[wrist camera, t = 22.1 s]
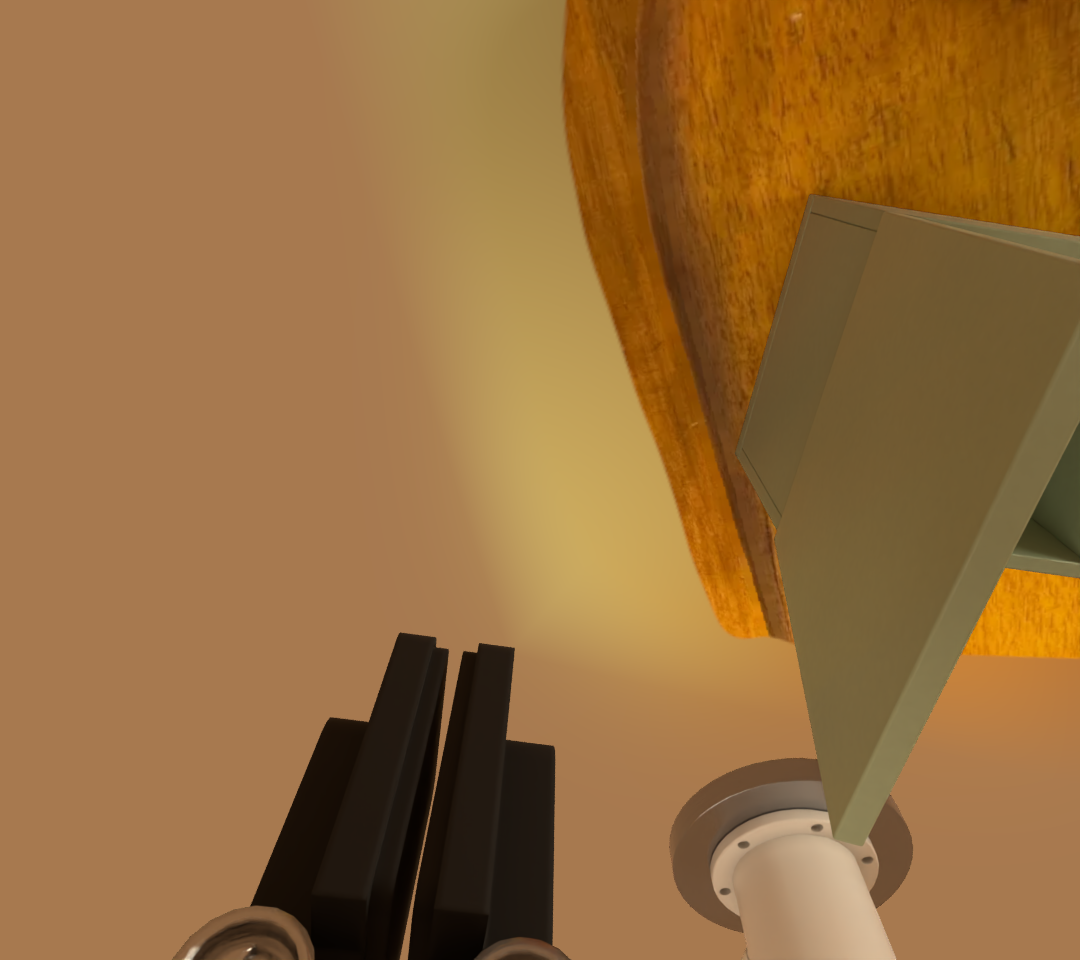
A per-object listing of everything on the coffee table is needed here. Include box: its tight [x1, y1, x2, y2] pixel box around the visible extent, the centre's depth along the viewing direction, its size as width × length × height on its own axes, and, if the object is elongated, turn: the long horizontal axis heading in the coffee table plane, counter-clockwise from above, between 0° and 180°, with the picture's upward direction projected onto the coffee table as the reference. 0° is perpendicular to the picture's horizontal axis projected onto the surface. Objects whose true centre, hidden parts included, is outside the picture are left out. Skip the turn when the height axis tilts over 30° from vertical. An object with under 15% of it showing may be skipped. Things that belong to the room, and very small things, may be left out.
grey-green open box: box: [735, 194, 1080, 578], centre depth 35 cm, size 16×15×10 cm
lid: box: [774, 211, 1080, 846], centre depth 23 cm, size 16×15×1 cm
